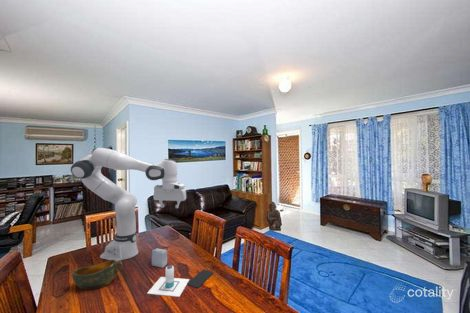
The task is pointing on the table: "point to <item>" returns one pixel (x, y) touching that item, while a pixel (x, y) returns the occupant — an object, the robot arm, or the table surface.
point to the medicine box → (159, 257)
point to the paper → (174, 291)
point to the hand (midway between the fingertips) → (169, 207)
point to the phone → (200, 278)
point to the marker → (169, 276)
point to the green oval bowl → (96, 275)
